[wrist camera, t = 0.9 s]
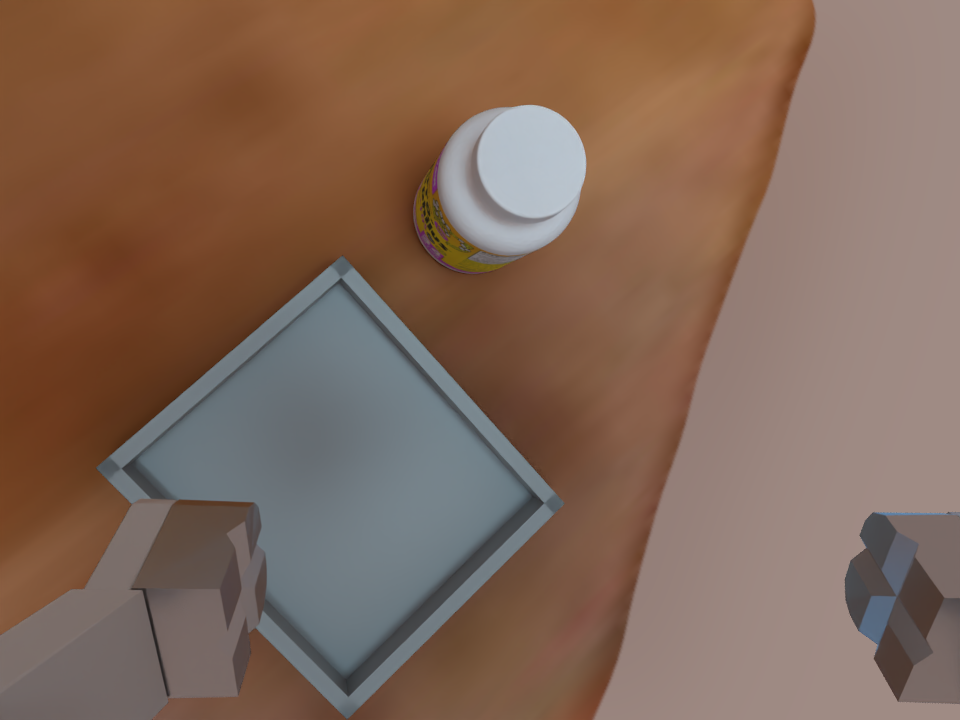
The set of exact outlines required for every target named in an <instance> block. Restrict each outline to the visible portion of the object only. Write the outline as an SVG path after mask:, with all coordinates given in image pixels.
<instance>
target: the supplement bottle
mask: <svg viewBox="0 0 960 720" xmlns="http://www.w3.org/2000/svg"><path fill="white" fill-rule="evenodd" d="M585 174H586V156H585V151H584V147H583V144H582V141H581V139H580V137H579V135H578V133H577V132H576V130H575V129H574V128H573V126H572V125H571V124H570V123H569V122H568V121H567V120H566V119H565V118H564V117H562V116H561V115H560V114H558V113H556V112H554V111H552V110H550V109H548V108H545V107H542V106H536V105H522V106H517V107H502V108H495V109H490V110H487V111H484V112H481V113H479V114H477V115H475V116H473V117H472V118H470V119H469V120H467V121H466V122H465V123H463V124H462V125H461V126H460V127H459V128H458V129H457V130H456V131H455V132H454V134H453V135H452V136H451V138H450V139H449V141H448V142H447V144H446V145H445V147H444V148H443V150H442V151H441V153H440V154H439V156H438V158H437V159H436V161H435V162H434V164H433V165H432V167H431V168H430V170H429V171H428V173H427V174H426V176H425V177H424V179H423V181H422V182H421V184H420V186H419V188H418V190H417V193H416V196H415V200H414V207H413V217H414V224H415V228H416V232H417V235H418V237H419V239H420V241H421V243H422V245H423V246H424V248H425V249H426V250H427V252H428V253H429V254H430V255H431V256H432V257H433V258H434V259H435V260H436V261H438V262H439V263H440V264H442V265H444V266H445V267H447V268H449V269H451V270H454V271H457V272H461V273H467V274H478V273H486V272H490V271H493V270H496V269H499V268H501V267H503V266H505V265H507V264H509V263H511V262H513V261H515V260H517V259H519V258H521V257H523V256H525V255H527V254H530V253H532V252H534V251H536V250H538V249H540V248H542V247H544V246H545V245H547V244H549V243H550V242H552V241H553V240H554V239H555V238H557V237H558V236H559V235H560V234H561V233H562V232H563V230H564V229H565V228H566V227H567V225H568V224H569V222H570V221H571V219H572V217H573V215H574V213H575V211H576V208H577V206H578V202H579V198H580V192H581V187H582V185H583V182H584V179H585Z"/></svg>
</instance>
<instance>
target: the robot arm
mask: <svg viewBox="0 0 960 720" xmlns="http://www.w3.org/2000/svg"><path fill="white" fill-rule="evenodd" d="M261 527H262V524H261V518H260V512H259V507H258V506H257V504H256V503H255V502H234V501H208V500H182V499H179V500H167V499H139V500H138V501H136V502H135V503H133V504H132V505H131V506H130V508H129V510H128V511H127V513H126V515H125V517H124V518H123V520H122V522H121V524H120V526H119V527H118V529H117V531H116V533H115V534H114V536H113V538H112V540H111V541H110V543H109V545H108V547H107V549H106V550H105V552H104V554H103V556H102V557H101V559H100V561H99V563H98V564H97V566H96V568H95V570H94V571H93V573H92V575H91V577H90V579H89V580H88V582H87V584H86V586H85V587H84V589H71V590H70V591H68V592H66V593H65V594H63V595H62V596H60V597H59V598H57V599H56V600H54V601H53V602H51V603H49V604H48V605H46V606H45V607H43V608H42V609H40V610H39V611H37V612H36V613H34V614H32V615H31V616H29V617H28V618H26V619H25V620H23V621H22V622H20V623H18V624H17V625H15V626H14V627H12V628H11V629H9V630H8V631H6V632H5V633H3V634H1V635H0V720H151V719H152V718H153V717H154V716H155V715H156V714H157V713H158V712H159V711H160V710H161V709H162V708H163V707H164V706H165V705H166V704H167V703H168V698H202V697H238V696H239V692H240V689H241V685H242V682H243V678H244V675H245V672H246V668H247V665H248V661H249V658H250V655H251V648H250V641H249V634H248V633H250V632H251V631H252V630H253V629H254V628H255V627H257V626H258V625H259V623H260V619H261V615H262V612H263V608H264V602H265V594H266V587H267V564H266V555H265V552H264V551H263V550H262V549H261V548H260V547H259V546H258V545H257V544H256V543H257V540H258V537H259V534H260V531H261ZM860 537H861V539H862V541H863V542H864V544H865V546H866V549H864V550H863V551H862V552H861V553H860V554H858V555H857V556H856V557H854V558H853V559H852V560H851V561H850V565H849V568H848V571H847V574H846V577H845V595H846V596H845V597H846V603H847V606H848V610H849V613H850V616H851V618H852V620H853V621H854V623H855V625H856V627H857V629H858V631H860V632H861V633H862V634H864V635H865V636H866V637H868V638H869V639H871V640H872V641H873V642H875V643H876V644H877V649H876V652H875V656H874V660H875V661H876V663H877V665H878V667H879V669H880V670H881V672H882V674H883V676H884V677H885V679H886V681H887V683H888V685H889V686H890V688H891V690H892V692H893V693H894V695H895V697H896V699H897V701H898V702H922V703H950V704H951V703H952V704H960V512H948V513H946V514H945V513H872V514H871V515H870V516H869V517H868V518H867V519H866V521H865V523H864V525H863V528H862V530H861V533H860Z"/></svg>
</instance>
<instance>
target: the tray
mask: <svg viewBox="0 0 960 720" xmlns="http://www.w3.org/2000/svg"><path fill="white" fill-rule="evenodd" d="M96 469H97V470H98V471H99V472H100V473H101V474H102V475H103V476H104V477H105V478H106V479H107V480H108V481H109V482H110V483H111V484H112V485H113V486H114V487H115V488H116V489H117V490H118V491H119V492H120V493H121V494H122V495H123V496H124V497H125V498H126V499H127V500H128V501H129V502H130V503H131V504H133V503H135V502H136V501H138V500H139V499H167V500H179V499H182V500H208V501H234V502H255V503H256V504H257V506H258V507H259V512H260V518H261V524H262V527H261V531H260V534H259V537H258V540H257V543H256V544H257V545H258V546H259V547H260V548H261V549H262V550H263V551H264V552H265V555H266V564H267V587H266V594H265V602H264V608H263V612H262V615H261V619H260V623H259V625H258V626H257V627H255V628H256V629H257V630H258V631H259V632H260V633H261V634H262V635H263V636H264V637H265V638H266V639H267V640H268V641H269V642H270V643H271V644H272V645H273V646H274V647H275V648H276V649H277V650H278V651H279V652H280V653H281V654H282V655H283V656H284V657H285V658H286V659H287V660H288V661H289V662H290V663H291V664H292V665H293V666H294V667H295V668H296V669H297V670H298V671H299V672H300V673H301V674H302V675H303V676H304V677H305V678H306V679H307V680H308V681H309V682H310V683H311V684H312V685H313V686H314V687H315V688H316V689H317V690H318V691H319V692H320V693H321V694H322V695H323V696H324V697H325V698H326V699H327V700H328V701H329V702H330V703H331V704H332V705H333V706H334V707H335V708H336V709H337V710H338V711H339V712H340V713H341V714H342V715H343V716H344V717H345V718H346V719H348V718H349V717H350V716H351V715H352V714H353V713H354V712H355V711H356V710H357V709H358V708H359V707H360V706H361V705H362V704H363V703H364V702H365V701H366V700H367V699H368V698H369V697H370V696H371V695H372V694H373V693H374V692H375V691H376V690H377V689H378V688H379V687H380V686H381V685H382V684H383V683H384V682H385V681H386V680H387V679H388V678H389V677H391V676H392V675H393V674H394V673H395V672H396V671H397V670H398V669H399V668H400V667H401V666H402V665H403V664H404V663H405V662H406V661H407V660H408V659H409V658H410V657H411V656H412V655H413V654H414V653H415V652H416V651H417V650H418V649H419V648H420V647H421V646H422V645H423V644H424V643H425V642H426V641H427V640H428V639H429V638H430V637H431V636H432V635H433V634H434V633H435V632H436V631H437V630H438V629H439V628H440V627H441V626H442V625H443V624H444V623H445V622H446V621H447V620H448V619H449V618H450V617H451V616H452V615H453V614H454V613H455V612H456V611H457V610H458V609H459V608H460V607H461V606H462V605H463V604H464V603H465V602H466V601H467V600H468V599H469V598H470V597H471V596H472V595H473V594H474V593H475V592H476V591H477V590H478V589H479V588H480V587H481V586H482V585H483V584H484V583H485V582H486V581H487V580H488V579H489V578H490V577H491V576H492V575H493V574H494V573H495V572H496V571H497V570H498V569H499V568H500V567H501V566H502V565H503V564H504V563H505V562H506V561H507V560H508V559H509V558H510V557H511V556H512V555H513V554H514V553H515V552H516V551H517V550H518V549H519V548H520V547H521V546H522V545H523V544H524V543H525V542H526V541H527V540H528V539H529V538H530V537H531V536H532V535H533V534H534V533H535V532H536V531H537V530H538V529H539V528H540V527H541V526H542V525H543V524H544V523H545V522H546V521H547V520H548V519H550V518H551V517H552V516H553V515H554V514H555V513H556V512H557V511H558V510H559V509H560V508H561V507H562V506H563V505H564V504H565V503H564V502H563V501H562V500H561V499H560V498H559V497H558V496H557V494H556V493H555V492H554V491H553V490H552V489H551V488H550V487H549V486H548V484H547V483H546V482H545V481H544V480H543V479H542V478H541V477H540V475H539V474H538V473H537V472H536V471H535V470H534V469H533V468H532V467H531V465H530V464H529V463H528V462H527V461H526V460H525V459H524V458H523V456H522V455H521V454H520V453H519V452H518V451H517V450H516V449H515V448H514V446H513V445H512V444H511V443H510V442H509V441H508V440H507V439H506V437H505V436H504V435H503V434H502V433H501V432H500V431H499V430H498V429H497V427H496V426H495V425H494V424H493V423H492V422H491V421H490V420H489V418H488V417H487V416H486V415H485V414H484V413H483V412H482V411H481V410H480V408H479V407H478V406H477V405H476V404H475V403H474V402H473V401H472V399H471V398H470V397H469V396H468V395H467V394H466V393H465V392H464V391H463V389H462V388H461V387H460V386H459V385H458V384H457V383H456V382H455V380H454V379H453V378H452V377H451V376H450V375H449V374H448V373H447V372H446V370H445V369H444V368H443V367H442V366H441V365H440V364H439V363H438V362H437V360H436V359H435V358H434V357H433V356H432V355H431V354H430V353H429V351H428V350H427V349H426V348H425V347H424V346H423V345H422V344H421V343H420V341H419V340H418V339H417V338H416V337H415V336H414V335H413V334H412V332H411V331H410V330H409V329H408V328H407V327H406V326H405V325H404V324H403V322H402V321H401V320H400V319H399V318H398V317H397V316H396V315H395V313H394V312H393V311H392V310H391V309H390V308H389V307H388V306H387V305H386V303H385V302H384V301H383V300H382V299H381V298H380V297H379V296H378V294H377V293H376V292H375V291H374V290H373V289H372V288H371V287H370V286H369V284H368V283H367V282H366V281H365V280H364V279H363V278H362V277H361V275H360V274H359V273H358V272H357V271H356V270H355V269H354V268H353V267H352V265H351V264H350V263H349V262H348V261H347V260H346V259H345V258H344V256H343V255H342V256H341V257H340V258H339V259H338V260H336V261H335V262H334V263H333V264H332V265H331V266H330V267H328V268H327V269H326V270H325V271H324V272H323V273H321V274H320V275H319V276H318V277H317V278H316V279H314V280H313V281H312V282H311V283H310V284H309V285H307V286H306V287H305V288H304V289H303V290H302V291H301V292H299V293H298V294H297V295H296V296H295V297H294V298H292V299H291V300H290V301H289V302H288V303H287V304H285V305H284V306H283V307H282V308H281V309H280V310H279V311H277V312H276V313H275V314H274V315H273V316H272V317H270V318H269V319H268V320H267V321H266V322H265V323H263V324H262V325H261V326H260V327H259V328H258V329H256V330H255V331H254V332H253V333H252V334H251V335H250V336H248V337H247V338H246V339H245V340H244V341H243V342H241V343H240V344H239V345H238V346H237V347H236V348H234V349H233V350H232V351H231V352H230V353H229V354H227V355H226V356H225V357H224V358H223V359H222V360H221V361H219V362H218V363H217V364H216V365H215V366H214V367H212V368H211V369H210V370H209V371H208V372H207V373H205V374H204V375H203V376H202V377H201V378H200V379H198V380H197V381H196V382H195V383H194V384H193V385H192V386H190V387H189V388H188V389H187V390H186V391H185V392H183V393H182V394H181V395H180V396H179V397H178V398H176V399H175V400H174V401H173V402H172V403H171V404H169V405H168V406H167V407H166V408H165V409H164V410H163V411H161V412H160V413H159V414H158V415H157V416H156V417H154V418H153V419H152V420H151V421H150V422H149V423H147V424H146V425H145V426H144V427H143V428H142V429H141V430H139V431H138V432H137V433H136V434H135V435H134V436H132V437H131V438H130V439H129V440H128V441H127V442H125V443H124V444H123V445H122V446H121V447H120V448H118V449H117V450H116V451H115V452H114V453H113V454H112V455H110V456H109V457H108V458H107V459H106V460H105V461H103V462H102V463H101V464H100V465H99V466H98V467H96Z"/></svg>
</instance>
